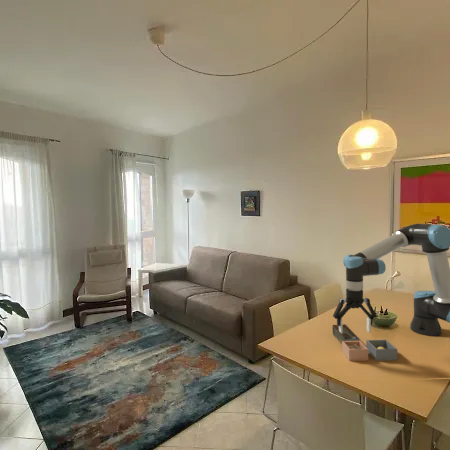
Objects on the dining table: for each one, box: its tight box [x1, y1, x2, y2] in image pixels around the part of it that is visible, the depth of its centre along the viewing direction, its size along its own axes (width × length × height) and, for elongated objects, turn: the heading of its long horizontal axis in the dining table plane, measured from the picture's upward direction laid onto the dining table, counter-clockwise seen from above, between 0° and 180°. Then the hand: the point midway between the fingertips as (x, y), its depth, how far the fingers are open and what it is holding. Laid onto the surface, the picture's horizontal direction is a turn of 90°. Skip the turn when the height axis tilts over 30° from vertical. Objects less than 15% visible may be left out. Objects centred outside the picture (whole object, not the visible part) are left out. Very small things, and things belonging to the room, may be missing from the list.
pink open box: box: [341, 340, 369, 362], centre depth 148 cm, size 9×9×6 cm
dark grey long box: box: [332, 323, 361, 345], centre depth 165 cm, size 8×19×7 cm, turn 0°
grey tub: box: [365, 339, 398, 362], centre depth 148 cm, size 10×10×6 cm
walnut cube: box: [348, 344, 362, 349], centre depth 148 cm, size 4×4×4 cm
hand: (354, 331), depth 147 cm, fingers open, 13 cm apart
